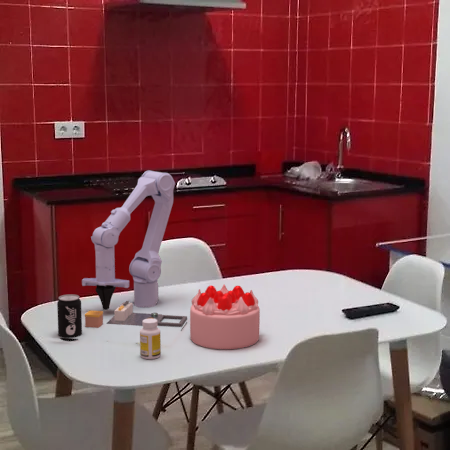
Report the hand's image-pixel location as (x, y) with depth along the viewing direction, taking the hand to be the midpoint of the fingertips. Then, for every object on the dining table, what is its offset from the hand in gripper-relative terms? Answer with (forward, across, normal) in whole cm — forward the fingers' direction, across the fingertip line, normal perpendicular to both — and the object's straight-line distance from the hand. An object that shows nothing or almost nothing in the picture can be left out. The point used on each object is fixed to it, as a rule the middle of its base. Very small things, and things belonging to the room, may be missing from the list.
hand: (106, 308), depth 235 cm
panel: (+2, +10, -4) cm, 12 cm away
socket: (+2, +22, -6) cm, 23 cm away
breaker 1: (+1, +6, -5) cm, 8 cm away
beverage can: (+3, -4, -22) cm, 22 cm away
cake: (+3, +39, -14) cm, 42 cm away
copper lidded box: (+2, 0, -12) cm, 13 cm away
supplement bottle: (+3, +22, -32) cm, 39 cm away
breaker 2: (+1, +6, 0) cm, 7 cm away
